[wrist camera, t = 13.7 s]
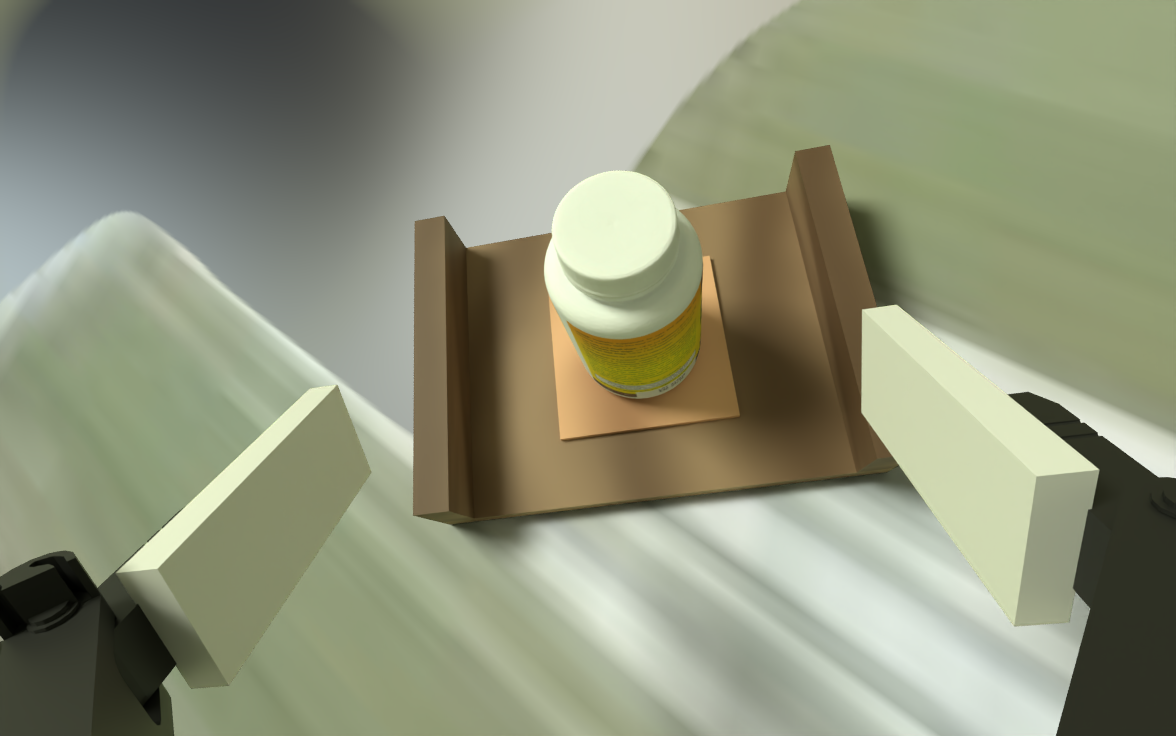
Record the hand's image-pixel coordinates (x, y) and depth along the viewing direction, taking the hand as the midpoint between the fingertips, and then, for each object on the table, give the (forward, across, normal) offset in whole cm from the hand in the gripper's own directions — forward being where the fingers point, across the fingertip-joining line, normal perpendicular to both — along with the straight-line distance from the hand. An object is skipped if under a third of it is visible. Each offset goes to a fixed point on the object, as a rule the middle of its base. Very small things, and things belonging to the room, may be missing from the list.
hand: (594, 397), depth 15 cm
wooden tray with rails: (+14, +1, -5) cm, 14 cm away
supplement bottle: (+13, +1, -4) cm, 13 cm away
